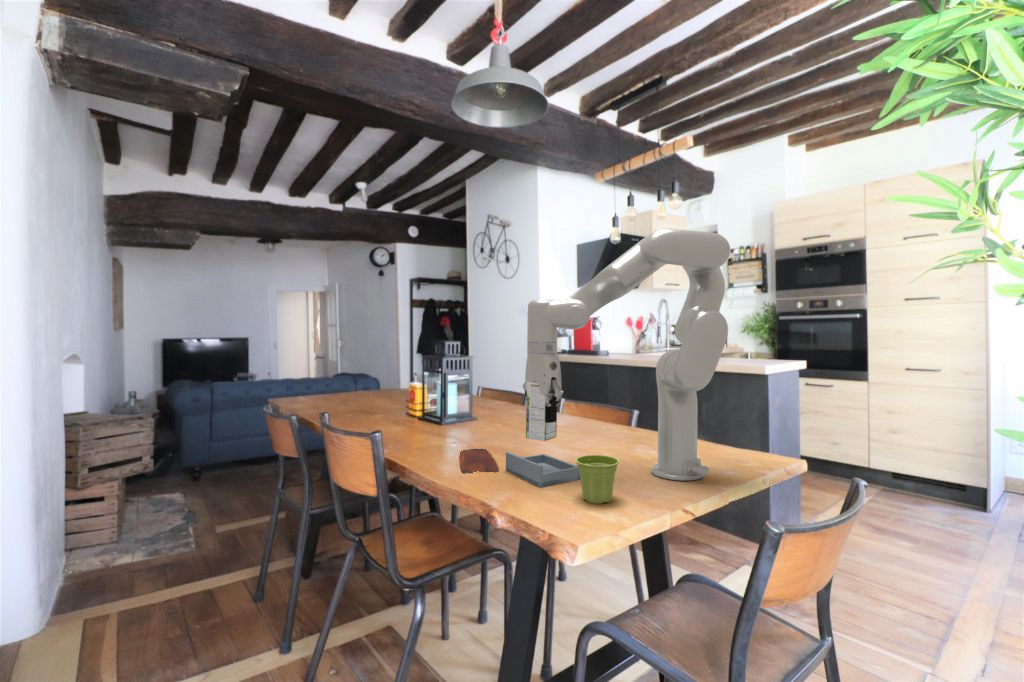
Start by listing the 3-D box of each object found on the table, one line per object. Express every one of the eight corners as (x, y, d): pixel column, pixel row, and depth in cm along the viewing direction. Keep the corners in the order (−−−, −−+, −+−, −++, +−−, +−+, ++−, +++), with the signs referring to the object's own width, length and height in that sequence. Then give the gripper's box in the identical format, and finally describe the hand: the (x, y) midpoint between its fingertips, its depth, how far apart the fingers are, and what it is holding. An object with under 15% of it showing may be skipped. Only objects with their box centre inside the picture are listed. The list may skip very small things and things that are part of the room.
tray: (580, 479, 125) (580, 459, 125) (539, 487, 119) (539, 466, 119) (544, 464, 139) (544, 446, 138) (505, 471, 132) (505, 452, 132)
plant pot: (570, 504, 108) (570, 463, 108) (580, 490, 117) (580, 453, 117) (615, 509, 105) (615, 467, 105) (621, 495, 114) (622, 456, 113)
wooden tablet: (500, 474, 132) (500, 468, 132) (461, 476, 130) (461, 470, 130) (489, 450, 158) (489, 444, 158) (457, 451, 157) (457, 445, 156)
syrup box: (537, 434, 132) (538, 379, 132) (557, 437, 129) (557, 380, 129) (525, 438, 128) (525, 381, 128) (545, 441, 124) (545, 382, 124)
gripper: (575, 350, 122) (574, 424, 123) (535, 347, 137) (534, 413, 138) (550, 351, 118) (549, 427, 119) (511, 348, 133) (511, 415, 134)
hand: (541, 419), depth 128 cm, fingers closed on syrup box, 7 cm apart
